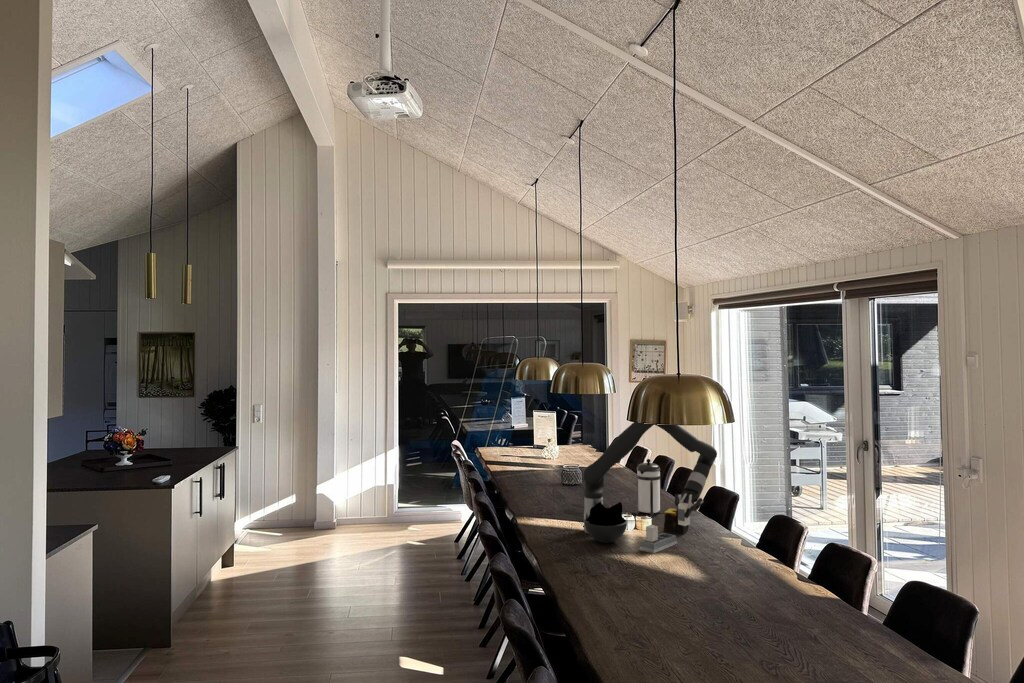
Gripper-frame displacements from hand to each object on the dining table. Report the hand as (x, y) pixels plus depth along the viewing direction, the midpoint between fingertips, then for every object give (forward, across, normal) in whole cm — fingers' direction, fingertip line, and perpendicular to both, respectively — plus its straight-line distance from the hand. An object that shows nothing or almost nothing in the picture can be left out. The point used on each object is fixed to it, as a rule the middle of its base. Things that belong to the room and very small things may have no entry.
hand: (681, 516), depth 304 cm
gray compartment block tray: (+10, -13, +14) cm, 22 cm away
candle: (-11, -22, +35) cm, 43 cm away
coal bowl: (+17, -36, +7) cm, 40 cm away
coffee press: (-27, -52, +52) cm, 78 cm away
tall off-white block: (+1, 0, +4) cm, 5 cm away
